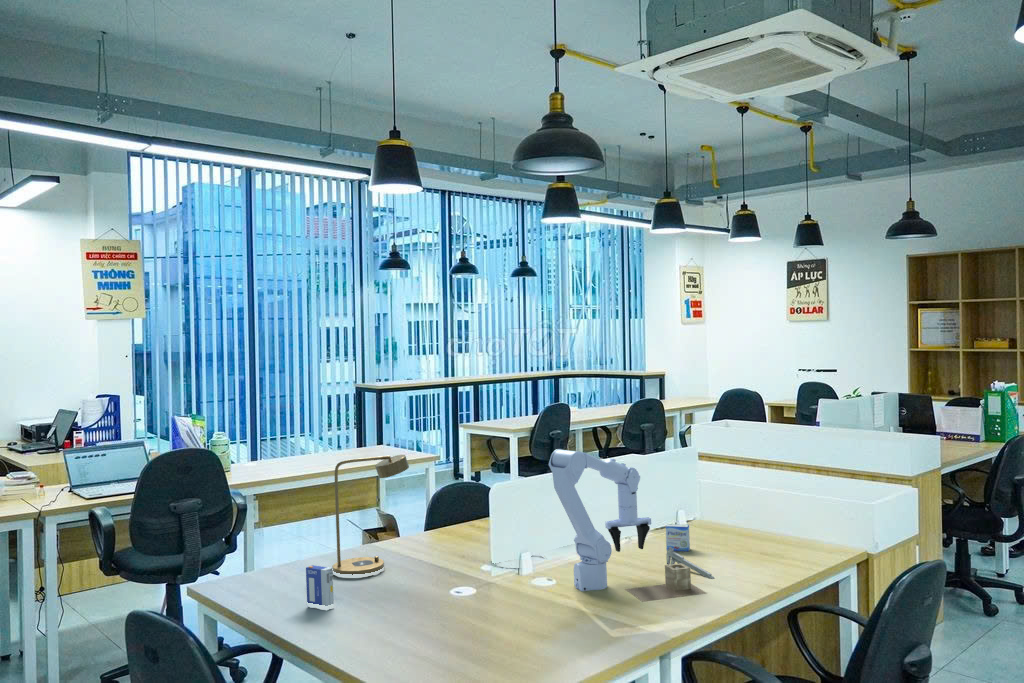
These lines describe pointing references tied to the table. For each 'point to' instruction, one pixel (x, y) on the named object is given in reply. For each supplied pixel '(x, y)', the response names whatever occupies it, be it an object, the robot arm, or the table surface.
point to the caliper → (685, 562)
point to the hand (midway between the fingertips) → (629, 549)
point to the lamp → (348, 566)
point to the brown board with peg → (662, 592)
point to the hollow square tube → (677, 577)
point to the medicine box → (677, 537)
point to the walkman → (319, 585)
